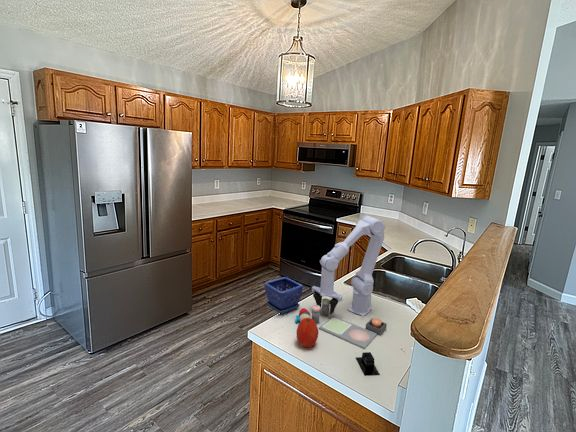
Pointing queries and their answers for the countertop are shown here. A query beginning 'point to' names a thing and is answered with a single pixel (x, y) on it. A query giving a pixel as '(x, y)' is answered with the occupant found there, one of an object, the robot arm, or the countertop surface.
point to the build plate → (367, 364)
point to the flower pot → (283, 294)
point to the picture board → (348, 332)
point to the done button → (376, 322)
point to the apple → (307, 332)
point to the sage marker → (325, 307)
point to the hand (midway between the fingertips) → (325, 310)
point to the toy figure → (302, 315)
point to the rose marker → (316, 313)
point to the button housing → (375, 329)
